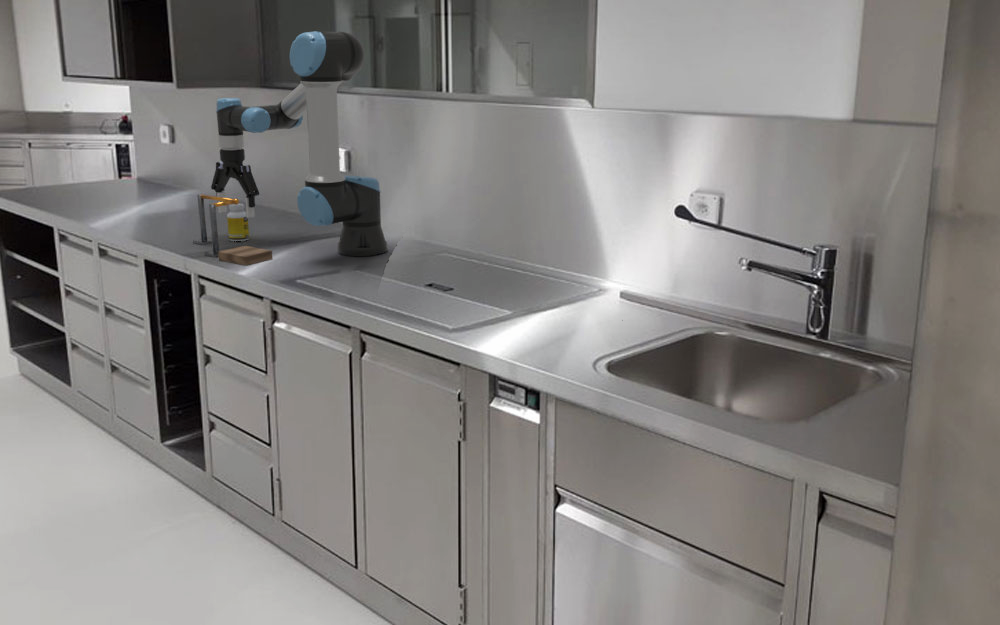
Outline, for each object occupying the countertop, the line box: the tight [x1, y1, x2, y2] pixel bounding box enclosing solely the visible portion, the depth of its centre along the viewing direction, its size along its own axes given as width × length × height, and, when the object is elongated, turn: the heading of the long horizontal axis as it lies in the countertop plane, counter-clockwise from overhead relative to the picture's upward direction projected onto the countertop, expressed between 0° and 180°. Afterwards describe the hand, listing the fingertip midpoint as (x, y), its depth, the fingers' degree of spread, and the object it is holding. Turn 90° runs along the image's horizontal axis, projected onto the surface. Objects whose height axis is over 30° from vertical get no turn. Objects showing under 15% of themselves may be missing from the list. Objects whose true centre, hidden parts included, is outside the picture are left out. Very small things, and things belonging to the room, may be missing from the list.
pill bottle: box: [226, 203, 250, 242], centre depth 299 cm, size 6×6×12 cm
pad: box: [218, 245, 273, 266], centre depth 274 cm, size 12×10×2 cm
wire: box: [192, 193, 240, 258], centre depth 286 cm, size 22×14×16 cm, turn 55°
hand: (236, 214), depth 298 cm, fingers open, 13 cm apart
